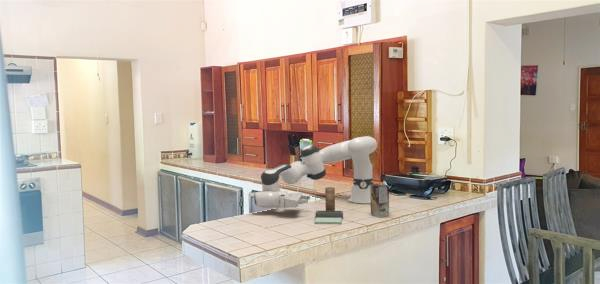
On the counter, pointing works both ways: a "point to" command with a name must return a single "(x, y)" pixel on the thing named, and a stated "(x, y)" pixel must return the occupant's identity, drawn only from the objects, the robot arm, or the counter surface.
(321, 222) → the board
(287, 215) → the counter surface
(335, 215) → the pit tray
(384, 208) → the coffee box
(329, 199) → the walnut column
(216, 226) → the counter surface
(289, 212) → the counter surface
